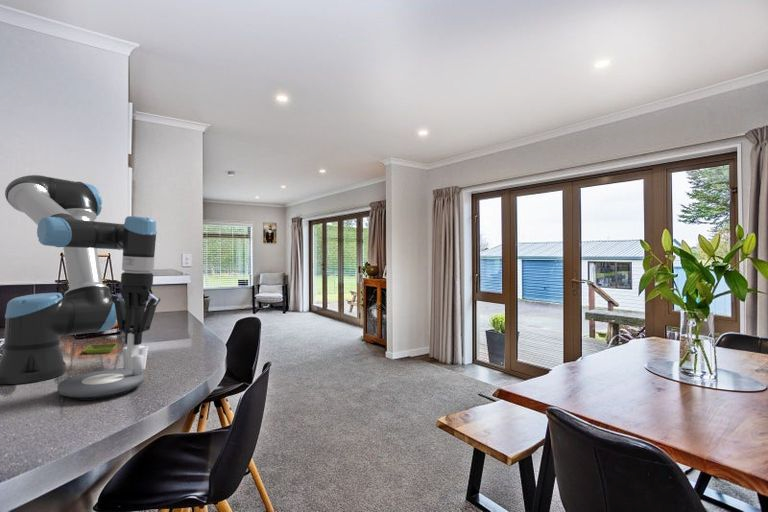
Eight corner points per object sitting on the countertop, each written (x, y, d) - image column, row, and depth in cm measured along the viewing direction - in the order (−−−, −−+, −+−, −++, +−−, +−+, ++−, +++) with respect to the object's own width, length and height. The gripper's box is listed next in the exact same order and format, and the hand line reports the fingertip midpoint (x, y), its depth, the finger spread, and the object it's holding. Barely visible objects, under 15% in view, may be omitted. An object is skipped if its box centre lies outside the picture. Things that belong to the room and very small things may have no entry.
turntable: (57, 381, 99) (59, 357, 99) (138, 371, 111) (139, 349, 111) (57, 402, 85) (59, 374, 86) (149, 387, 97) (150, 362, 97)
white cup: (138, 372, 114) (139, 349, 114) (115, 371, 114) (117, 348, 114) (152, 366, 121) (153, 344, 121) (131, 365, 121) (132, 343, 121)
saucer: (82, 355, 132) (82, 350, 132) (89, 350, 140) (90, 344, 140) (112, 354, 135) (112, 348, 135) (118, 348, 143) (118, 343, 143)
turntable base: (56, 397, 92) (56, 392, 92) (100, 381, 105) (100, 376, 105) (106, 401, 91) (106, 395, 91) (144, 384, 104) (144, 379, 104)
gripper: (105, 270, 102) (99, 357, 102) (150, 273, 101) (144, 361, 101) (126, 270, 109) (120, 351, 109) (168, 272, 108) (163, 354, 108)
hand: (132, 355), depth 105 cm, fingers closed
